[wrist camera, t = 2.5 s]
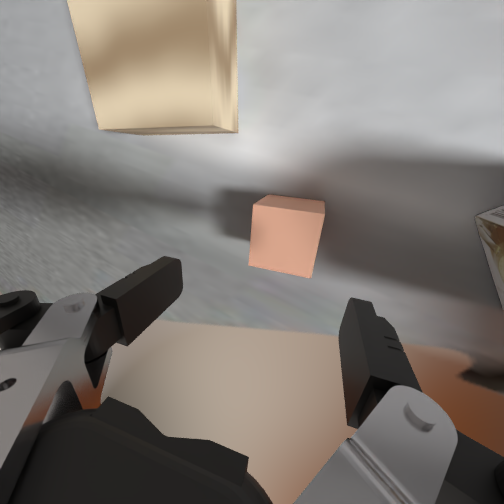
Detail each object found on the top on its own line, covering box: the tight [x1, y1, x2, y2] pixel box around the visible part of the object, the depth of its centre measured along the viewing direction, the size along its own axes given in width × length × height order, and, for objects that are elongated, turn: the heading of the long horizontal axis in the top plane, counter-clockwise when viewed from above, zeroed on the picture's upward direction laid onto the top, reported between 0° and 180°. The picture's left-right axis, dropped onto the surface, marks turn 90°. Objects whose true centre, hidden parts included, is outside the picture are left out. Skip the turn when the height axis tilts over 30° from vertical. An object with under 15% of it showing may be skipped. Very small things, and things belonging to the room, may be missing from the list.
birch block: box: [67, 0, 238, 135], centre depth 16 cm, size 10×10×5 cm
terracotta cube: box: [249, 194, 325, 278], centre depth 18 cm, size 5×5×5 cm
